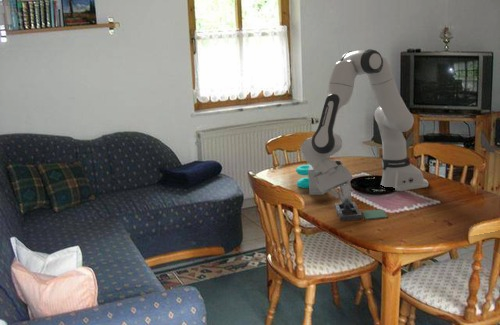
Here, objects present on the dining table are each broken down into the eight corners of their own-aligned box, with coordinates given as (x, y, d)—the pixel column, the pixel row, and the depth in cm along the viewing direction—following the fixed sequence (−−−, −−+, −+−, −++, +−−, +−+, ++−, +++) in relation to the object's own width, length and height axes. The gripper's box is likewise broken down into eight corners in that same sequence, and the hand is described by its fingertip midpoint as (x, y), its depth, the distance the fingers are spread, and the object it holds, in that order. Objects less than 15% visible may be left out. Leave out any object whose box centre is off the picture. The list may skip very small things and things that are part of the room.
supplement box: (324, 194, 285) (323, 169, 282) (309, 195, 287) (307, 170, 284) (325, 189, 292) (324, 165, 289) (310, 190, 294) (309, 165, 291)
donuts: (291, 167, 300) (307, 163, 305) (293, 186, 303) (308, 181, 308) (303, 171, 292) (319, 166, 297) (305, 190, 295) (320, 185, 300)
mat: (382, 210, 258) (382, 209, 258) (387, 217, 249) (387, 216, 249) (361, 212, 258) (361, 211, 258) (365, 219, 249) (365, 218, 249)
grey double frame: (354, 205, 267) (354, 201, 266) (361, 219, 250) (361, 214, 250) (334, 207, 267) (334, 203, 266) (340, 221, 250) (340, 216, 250)
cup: (350, 208, 264) (349, 182, 261) (352, 211, 260) (351, 185, 257) (340, 209, 264) (339, 183, 261) (342, 212, 260) (340, 186, 257)
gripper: (315, 171, 255) (334, 196, 251) (343, 160, 269) (362, 183, 265) (307, 180, 260) (326, 205, 255) (335, 168, 273) (354, 191, 269)
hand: (345, 194), depth 260 cm, fingers open, 8 cm apart
